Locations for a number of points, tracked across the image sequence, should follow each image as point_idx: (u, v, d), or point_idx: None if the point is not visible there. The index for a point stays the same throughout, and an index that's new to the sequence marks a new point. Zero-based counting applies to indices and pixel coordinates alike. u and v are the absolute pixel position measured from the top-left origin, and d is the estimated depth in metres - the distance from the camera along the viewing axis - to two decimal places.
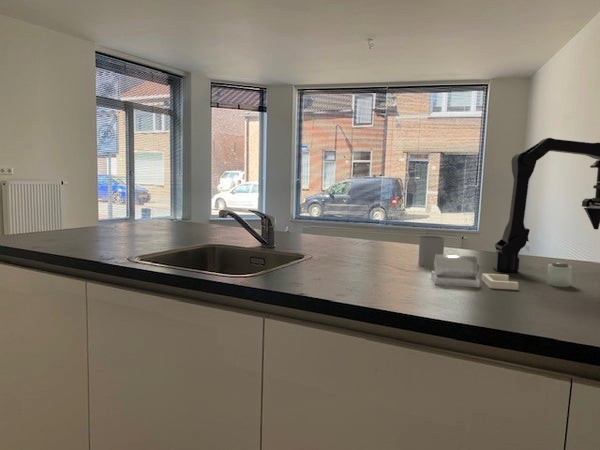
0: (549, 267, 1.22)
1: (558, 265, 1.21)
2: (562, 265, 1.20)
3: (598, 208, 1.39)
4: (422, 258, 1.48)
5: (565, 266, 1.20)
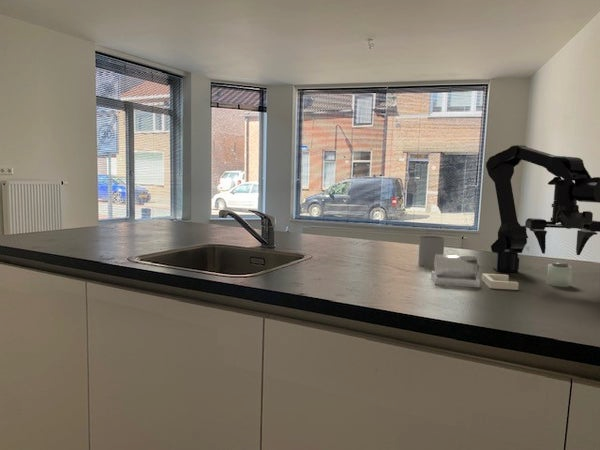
0: (549, 267, 1.22)
1: (558, 265, 1.21)
2: (562, 265, 1.20)
3: (583, 231, 1.20)
4: (422, 258, 1.48)
5: (565, 266, 1.20)
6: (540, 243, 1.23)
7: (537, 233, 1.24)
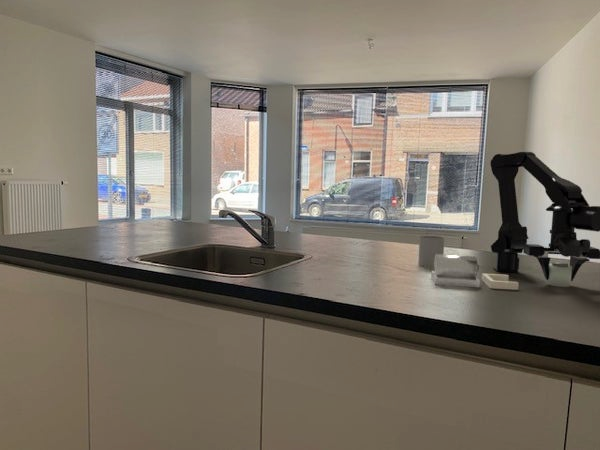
0: (549, 267, 1.22)
1: (558, 265, 1.21)
2: (562, 265, 1.20)
3: (576, 258, 1.21)
4: (422, 258, 1.48)
5: (565, 266, 1.20)
6: (543, 269, 1.23)
7: (540, 259, 1.24)
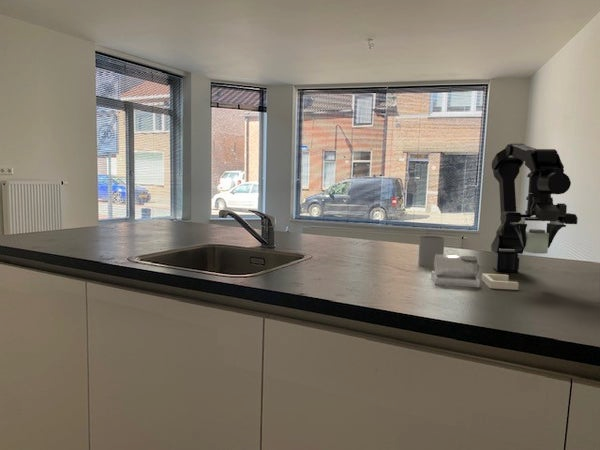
0: (526, 234, 1.20)
1: (535, 231, 1.19)
2: (539, 231, 1.18)
3: (552, 224, 1.19)
4: (422, 258, 1.48)
5: (542, 232, 1.18)
6: (520, 236, 1.21)
7: (517, 226, 1.22)
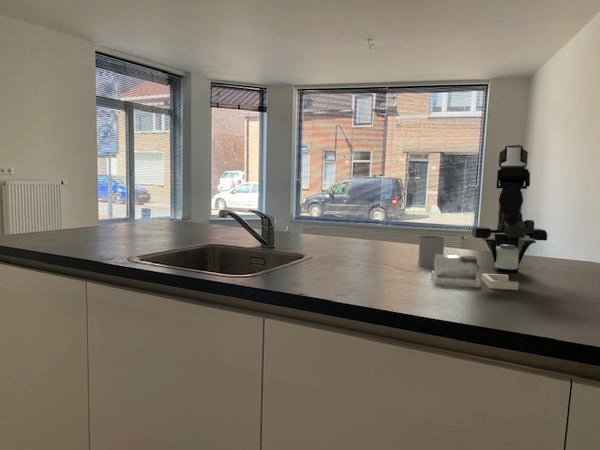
0: (496, 249, 1.20)
1: (505, 247, 1.18)
2: (509, 247, 1.18)
3: (523, 239, 1.18)
4: (422, 258, 1.48)
5: (512, 248, 1.18)
6: (491, 252, 1.21)
7: (488, 242, 1.22)
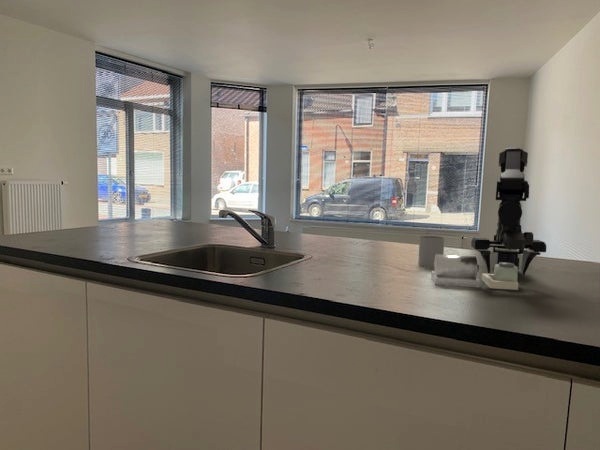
0: (495, 267, 1.21)
1: (504, 265, 1.19)
2: (507, 265, 1.18)
3: (527, 251, 1.18)
4: (422, 258, 1.48)
5: (510, 266, 1.18)
6: (485, 263, 1.21)
7: (483, 252, 1.22)
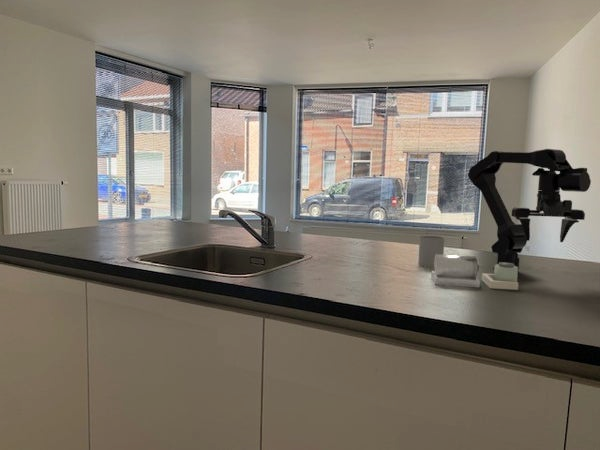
0: (495, 267, 1.21)
1: (504, 265, 1.19)
2: (507, 265, 1.18)
3: (566, 219, 1.26)
4: (422, 258, 1.48)
5: (510, 266, 1.18)
6: (525, 230, 1.30)
7: (522, 221, 1.31)
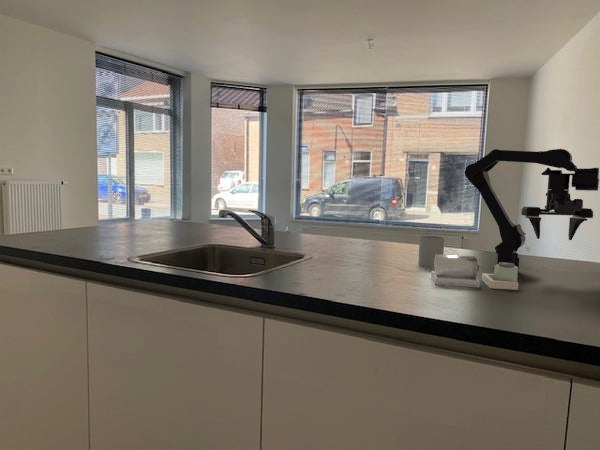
0: (495, 267, 1.21)
1: (504, 265, 1.19)
2: (507, 265, 1.18)
3: (575, 218, 1.30)
4: (422, 258, 1.48)
5: (510, 266, 1.18)
6: (535, 229, 1.33)
7: (532, 220, 1.34)
